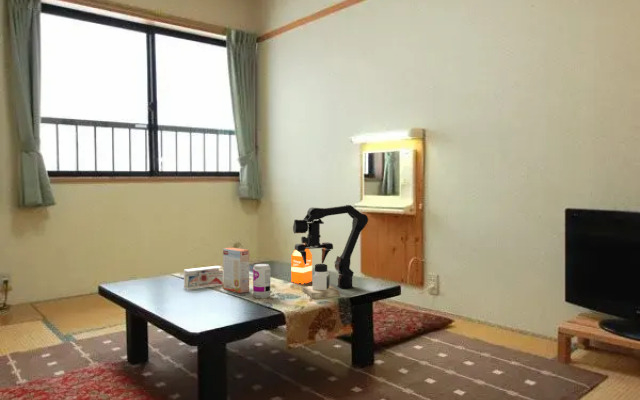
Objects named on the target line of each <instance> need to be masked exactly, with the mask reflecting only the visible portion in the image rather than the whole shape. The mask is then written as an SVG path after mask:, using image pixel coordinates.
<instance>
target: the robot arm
mask: <svg viewBox="0 0 640 400" xmlns="http://www.w3.org/2000/svg"><path fill="white" fill-rule="evenodd" d="M342 214H343V215H344V214H347V215H349V217H350V218H352V222H351V223H352V224H351V231H350V233H349V236H348V238H347V240H346V243H345V246H344V249H343V250H342V254H341V255H340V256H338V255H337V256H336V260H335V261H334V268H335V270H336V271H337V272H338V278H337V287H339V288H340V289H354V285H353V276H354V274H355V273H354V272H353V270H352V269H351V268H350V267H351V258H352V255H353V253H354V249H355V246H356V244H357V243H358V239H359V237H360V234H361V232H362V231H363V230H364V228H366V226H367V224H368V221H369V218H368V215H367V214H364V213H362V212H361V211H359V210H358V209H356V208H355V207H354V206H353V205H350V204H346V205H340V206H333V207H332V206H331V207H310V208H309V209H308V210H307V213H306V215H305V216H304V217H303V219H294V222H293V225H292V232H293V233H294V234H306V233H307V237H306V236H302V237H301V238H300V239H301V243H296V244H295V245H294V250H297V251H298V252H300V253H301V255H302V258H303V261H304V264H306V251H305V249H309V250H311V249H321V264H325V261H326V257H327V256H328V254H329V252H331V250H334V244H333V243H331V242H322V244H321V241H320V240H321V239H320V238H321V236H322V235H320V234H321V233H320V231H321V230H320V228H321V227H320V226H321V225H324V223H325V222H324V221H322V219H323V218H325V217H329V216H334V215H342ZM304 244H305V245H304Z"/></svg>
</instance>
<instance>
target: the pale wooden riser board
mask: <svg viewBox="0 0 640 400" xmlns="http://www.w3.org/2000/svg"><path fill="white" fill-rule="evenodd" d="M301 291H302V293H303V292H304V294H305V295H306V294H307V295H306V296H307V297H309V296H310V297H309V298H310V299H321V297H323V298H332V297H333V296H334V297H340V295H341V293H340V290H339V289H338V288H336V287H334V286H332V285H330V287H329V288H328V290H327V291H324V290H313V289H312V285H309V286H302V290H301Z"/></svg>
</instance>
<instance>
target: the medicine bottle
mask: <svg viewBox="0 0 640 400" xmlns="http://www.w3.org/2000/svg"><path fill="white" fill-rule="evenodd" d="M330 278H331V277H330V272H328V264H326V263H316V264H314V274H312V281H311V282H312V284H311V286H312V289H313V290H324V291H327V290H328V288H329V287H330V286H331V284H330V281H331V280H330Z"/></svg>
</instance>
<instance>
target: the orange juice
mask: <svg viewBox="0 0 640 400" xmlns="http://www.w3.org/2000/svg"><path fill="white" fill-rule="evenodd" d="M303 244H304V245H305V243H303ZM310 250H311V249H305V251H306V264H304V261H303V258H302V255H301V253H300V252H298V251H297V250H295V249H294V251H293V252H292V254H291V264H290V265H291V268H290V269H291V270H290V271H291V274H290V275H291V283H292V282H294V283H293V284H299V283H301V284H300V285H304V283H305V284H308V283H311V282H312V276H313V254H312V252H311V251H310Z"/></svg>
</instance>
